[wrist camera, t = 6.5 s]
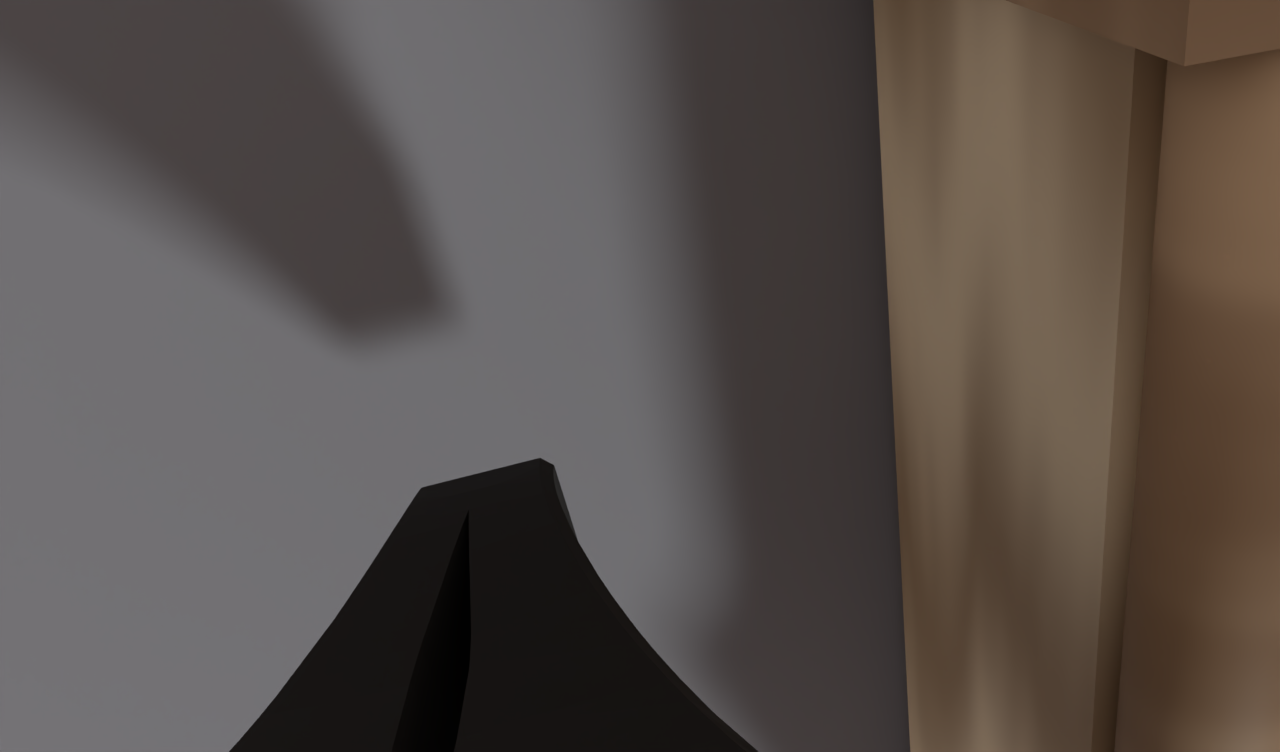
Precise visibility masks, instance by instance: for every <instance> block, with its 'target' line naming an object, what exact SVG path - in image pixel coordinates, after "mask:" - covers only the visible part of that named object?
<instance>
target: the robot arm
mask: <svg viewBox="0 0 1280 752" xmlns="http://www.w3.org/2000/svg"><path fill="white" fill-rule="evenodd" d="M229 752H758V751H757V750H756V749H755V748H754V747H753V746H752V745H750V744H749V743H748V742H747V741H746V740H745V739H744V738H742V737H741V736H740V735H739V734H738V733H737V732H735V731H734V730H733V729H732V728H731V727H730V726H729V725H727V724H726V723H725V722H724V721H723V720H722V719H721V718H719V717H718V716H717V715H716V714H715V713H714V712H713V711H712V710H711V709H710V708H709V707H708V706H707V705H706V704H705V703H704V702H703V701H702V700H701V699H700V698H699V697H698V696H697V695H696V694H695V693H694V692H693V691H692V690H691V689H690V688H689V687H688V686H687V685H686V684H685V683H684V682H683V681H682V680H681V679H680V678H679V677H678V676H677V675H676V673H675V672H674V671H673V670H672V669H671V668H670V667H669V666H668V665H667V664H666V662H665V661H664V660H663V659H662V658H661V657H660V656H659V655H658V654H657V652H656V651H655V650H654V649H653V648H652V647H651V645H650V644H649V643H648V642H647V641H646V639H645V638H644V637H643V636H642V634H641V633H640V632H639V631H638V629H637V628H636V627H635V626H634V624H633V623H632V622H631V621H630V619H629V618H628V616H627V615H626V614H625V612H624V611H623V610H622V608H621V607H620V606H619V604H618V603H617V602H616V600H615V599H614V598H613V596H612V595H611V593H610V592H609V590H608V589H607V587H606V586H605V584H604V583H603V581H602V580H601V579H600V577H599V576H598V574H597V572H596V571H595V569H594V567H593V566H592V564H591V562H590V561H589V559H588V557H587V556H586V554H585V552H584V550H583V549H582V547H581V545H580V544H579V542H578V540H577V536H576V533H575V530H574V527H573V524H572V520H571V517H570V514H569V511H568V508H567V505H566V501H565V498H564V495H563V492H562V489H561V485H560V482H559V479H558V476H557V473H556V470H555V466H554V465H553V464H551V463H549V462H547V461H545V460H544V459H542V458H537V459H533V460H529V461H525V462H521V463H517V464H513V465H509V466H505V467H501V468H497V469H493V470H489V471H485V472H481V473H477V474H473V475H469V476H465V477H461V478H457V479H453V480H449V481H445V482H442V483H438V484H434V485H430V486H426V487H422V488H421V489H420V490H419V491H418V493H417V494H416V496H415V497H414V499H413V500H412V502H411V503H410V505H409V506H408V508H407V509H406V511H405V512H404V514H403V516H402V517H401V519H400V520H399V522H398V523H397V525H396V526H395V528H394V529H393V531H392V533H391V534H390V536H389V537H388V539H387V540H386V542H385V543H384V545H383V547H382V548H381V550H380V551H379V553H378V554H377V556H376V557H375V559H374V560H373V562H372V564H371V565H370V567H369V568H368V570H367V571H366V573H365V574H364V576H363V577H362V579H361V580H360V582H359V583H358V585H357V586H356V588H355V589H354V591H353V592H352V594H351V595H350V597H349V598H348V600H347V601H346V603H345V604H344V606H343V607H342V608H341V610H340V611H339V613H338V614H337V616H336V617H335V619H334V620H333V622H332V623H331V624H330V626H329V627H328V628H327V630H326V631H325V632H324V633H323V635H322V636H321V637H320V639H319V640H318V641H317V643H316V644H315V645H314V647H313V648H312V649H311V651H310V652H309V653H308V655H307V656H306V657H305V659H304V660H303V661H302V663H301V664H300V665H299V667H298V668H297V669H296V671H295V672H294V673H293V675H292V676H291V677H290V679H289V680H288V681H287V683H286V684H285V685H284V686H283V688H282V689H281V690H280V692H279V693H278V694H277V696H276V697H275V698H274V699H273V701H272V702H271V703H270V704H269V706H268V707H267V708H266V709H265V710H264V712H263V713H262V714H261V715H260V717H259V718H258V719H257V720H256V721H255V722H254V724H253V725H252V726H251V727H250V728H249V729H248V731H247V732H246V733H245V734H244V735H243V736H242V738H241V739H240V740H239V741H238V742H237V743H236V744H235V745H234V747H233V748H232V749H231V750H230V751H229Z"/></svg>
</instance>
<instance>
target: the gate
mask: <svg viewBox="0 0 1280 752" xmlns="http://www.w3.org/2000/svg"><path fill="white" fill-rule="evenodd" d="M873 6H874V26H875V46H876V66H877V87H878V107H879V127H880V148H881V168H882V188H883V208H884V229H885V249H886V269H887V289H888V310H889V330H890V350H891V370H892V391H893V411H894V431H895V451H896V472H897V492H898V512H899V533H900V553H901V573H902V593H903V614H904V634H905V654H906V674H907V695H908V715H909V735H910V752H1280V0H873Z"/></svg>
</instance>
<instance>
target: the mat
mask: <svg viewBox="0 0 1280 752" xmlns="http://www.w3.org/2000/svg"><path fill="white" fill-rule="evenodd" d="M537 458H542V459H544V460H545V461H547V462H549V463H551V464H553V465H554V466H555V470H556V473H557V476H558V479H559V482H560V485H561V489H562V492H563V495H564V498H565V501H566V505H567V508H568V511H569V514H570V517H571V520H572V524H573V527H574V530H575V533H576V536H577V540H578V542H579V544H580V545H581V547H582V549H583V550H584V552H585V554H586V556H587V557H588V559H589V561H590V562H591V564H592V566H593V567H594V569H595V571H596V572H597V574H598V576H599V577H600V579H601V580H602V581H603V583H604V584H605V586H606V587H607V589H608V590H609V592H610V593H611V595H612V596H613V598H614V599H615V600H616V602H617V603H618V604H619V606H620V607H621V608H622V610H623V611H624V612H625V614H626V615H627V616H628V618H629V619H630V621H631V622H632V623H633V624H634V626H635V627H636V628H637V629H638V631H639V632H640V633H641V634H642V636H643V637H644V638H645V639H646V641H647V642H648V643H649V644H650V645H651V647H652V648H653V649H654V650H655V651H656V652H657V654H658V655H659V656H660V657H661V658H662V659H663V660H664V661H665V662H666V664H667V665H668V666H669V667H670V668H671V669H672V670H673V671H674V672H675V673H676V675H677V676H678V677H679V678H680V679H681V680H682V681H683V682H684V683H685V684H686V685H687V686H688V687H689V688H690V689H691V690H692V691H693V692H694V693H695V694H696V695H697V696H698V697H699V698H700V699H701V700H702V701H703V702H704V703H705V704H706V705H707V706H708V707H709V708H710V709H711V710H712V711H713V712H714V713H715V714H716V715H717V716H718V717H719V718H721V719H722V720H723V721H724V722H725V723H726V724H727V725H729V726H730V727H731V728H732V729H733V730H734V731H735V732H737V733H738V734H739V735H740V736H741V737H742V738H744V739H745V740H746V741H747V742H748V743H749V744H750V745H752V746H753V747H754V748H755V749H756V750H757V751H758V752H910V735H909V715H908V695H907V674H906V654H905V634H904V614H903V593H902V573H901V553H900V533H899V512H898V492H897V472H896V451H895V431H894V411H893V391H892V370H891V350H890V330H889V310H888V289H887V269H886V249H885V229H884V208H883V188H882V168H881V148H880V127H879V107H878V87H877V66H876V46H875V26H874V6H873V0H0V752H229V751H230V750H231V749H232V748H233V747H234V745H235V744H236V743H237V742H238V741H239V740H240V739H241V738H242V736H243V735H244V734H245V733H246V732H247V731H248V729H249V728H250V727H251V726H252V725H253V724H254V722H255V721H256V720H257V719H258V718H259V717H260V715H261V714H262V713H263V712H264V710H265V709H266V708H267V707H268V706H269V704H270V703H271V702H272V701H273V699H274V698H275V697H276V696H277V694H278V693H279V692H280V690H281V689H282V688H283V686H284V685H285V684H286V683H287V681H288V680H289V679H290V677H291V676H292V675H293V673H294V672H295V671H296V669H297V668H298V667H299V665H300V664H301V663H302V661H303V660H304V659H305V657H306V656H307V655H308V653H309V652H310V651H311V649H312V648H313V647H314V645H315V644H316V643H317V641H318V640H319V639H320V637H321V636H322V635H323V633H324V632H325V631H326V630H327V628H328V627H329V626H330V624H331V623H332V622H333V620H334V619H335V617H336V616H337V614H338V613H339V611H340V610H341V608H342V607H343V606H344V604H345V603H346V601H347V600H348V598H349V597H350V595H351V594H352V592H353V591H354V589H355V588H356V586H357V585H358V583H359V582H360V580H361V579H362V577H363V576H364V574H365V573H366V571H367V570H368V568H369V567H370V565H371V564H372V562H373V560H374V559H375V557H376V556H377V554H378V553H379V551H380V550H381V548H382V547H383V545H384V543H385V542H386V540H387V539H388V537H389V536H390V534H391V533H392V531H393V529H394V528H395V526H396V525H397V523H398V522H399V520H400V519H401V517H402V516H403V514H404V512H405V511H406V509H407V508H408V506H409V505H410V503H411V502H412V500H413V499H414V497H415V496H416V494H417V493H418V491H419V490H420V489H421V488H422V487H426V486H430V485H434V484H438V483H442V482H445V481H449V480H453V479H457V478H461V477H465V476H469V475H473V474H477V473H481V472H485V471H489V470H493V469H497V468H501V467H505V466H509V465H513V464H517V463H521V462H525V461H529V460H533V459H537Z"/></svg>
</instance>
